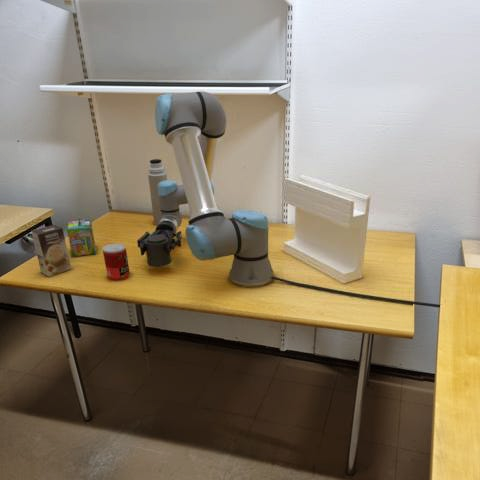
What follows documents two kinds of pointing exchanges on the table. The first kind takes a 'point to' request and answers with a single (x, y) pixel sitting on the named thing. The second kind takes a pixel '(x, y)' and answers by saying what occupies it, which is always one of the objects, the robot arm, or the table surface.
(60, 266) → the coffee box
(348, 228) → the block
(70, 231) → the chalk box
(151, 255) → the cap
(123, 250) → the canned food
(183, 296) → the table surface
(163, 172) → the thermos bottle
